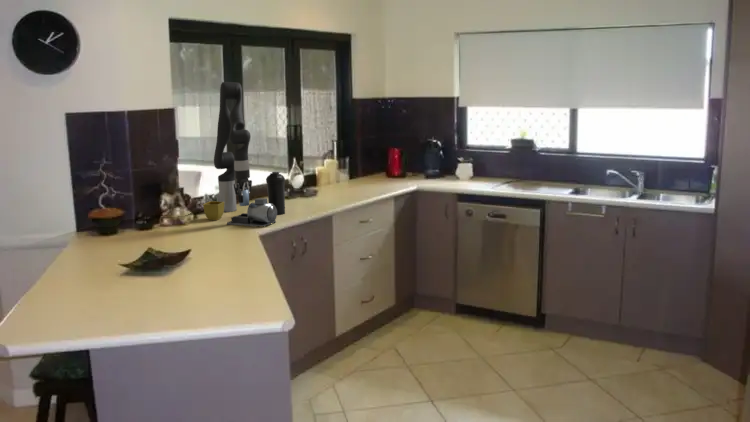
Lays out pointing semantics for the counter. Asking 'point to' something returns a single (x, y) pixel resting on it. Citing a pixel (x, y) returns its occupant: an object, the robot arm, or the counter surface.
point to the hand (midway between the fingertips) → (244, 201)
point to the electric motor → (256, 214)
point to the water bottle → (276, 191)
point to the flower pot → (213, 210)
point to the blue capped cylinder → (245, 198)
